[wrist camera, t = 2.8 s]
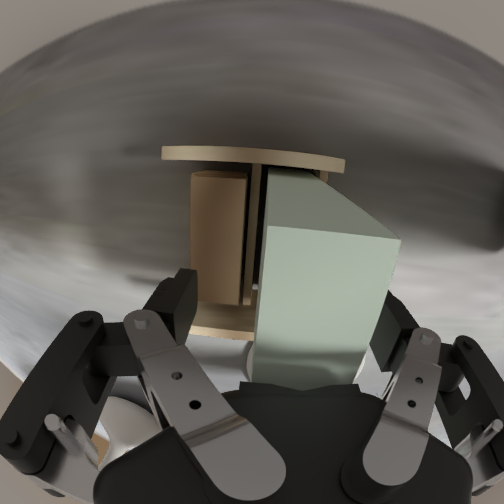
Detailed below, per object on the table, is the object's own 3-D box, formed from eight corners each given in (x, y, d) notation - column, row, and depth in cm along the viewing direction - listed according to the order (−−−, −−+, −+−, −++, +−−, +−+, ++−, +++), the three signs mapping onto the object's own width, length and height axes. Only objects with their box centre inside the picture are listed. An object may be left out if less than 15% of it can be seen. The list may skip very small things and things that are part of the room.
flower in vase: (145, 437, 37) (107, 550, 14) (91, 400, 34) (34, 514, 11) (187, 420, 33) (149, 571, 10) (121, 376, 31) (48, 531, 7)
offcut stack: (250, 172, 21) (246, 179, 17) (243, 277, 24) (237, 305, 20) (201, 169, 21) (184, 176, 17) (199, 273, 24) (186, 299, 20)
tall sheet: (307, 171, 20) (401, 240, 5) (292, 287, 24) (311, 458, 9) (268, 167, 20) (267, 225, 6) (258, 284, 24) (242, 457, 9)
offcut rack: (324, 155, 20) (345, 159, 14) (303, 301, 24) (311, 344, 19) (189, 145, 20) (161, 146, 14) (189, 291, 25) (169, 330, 19)
